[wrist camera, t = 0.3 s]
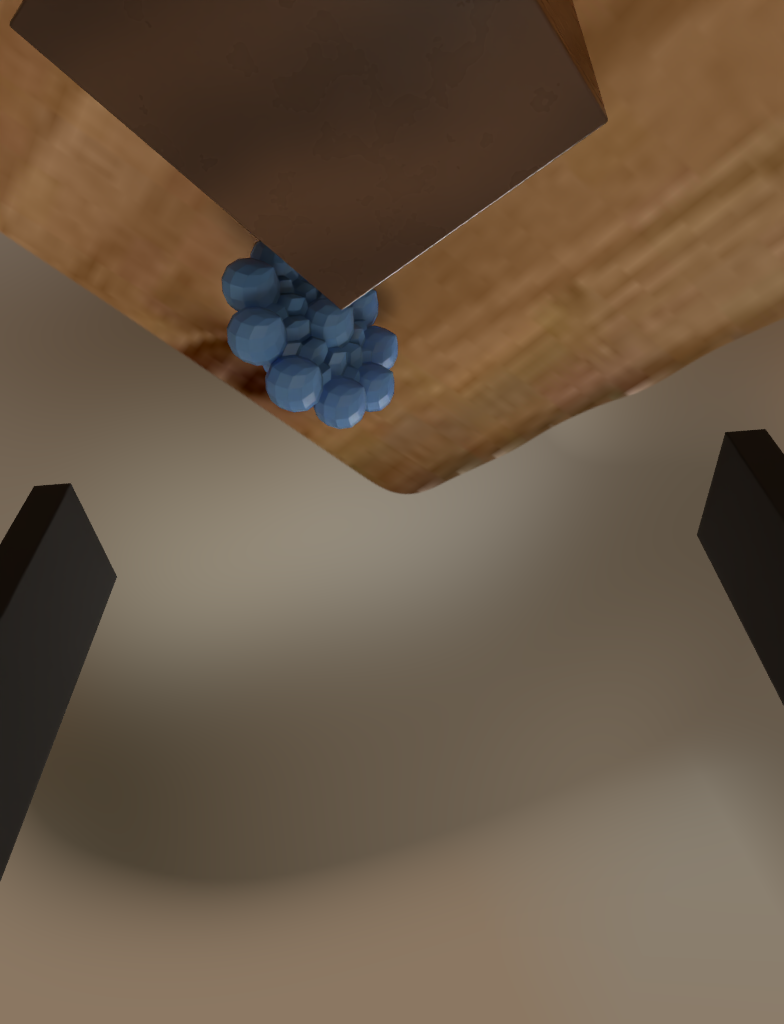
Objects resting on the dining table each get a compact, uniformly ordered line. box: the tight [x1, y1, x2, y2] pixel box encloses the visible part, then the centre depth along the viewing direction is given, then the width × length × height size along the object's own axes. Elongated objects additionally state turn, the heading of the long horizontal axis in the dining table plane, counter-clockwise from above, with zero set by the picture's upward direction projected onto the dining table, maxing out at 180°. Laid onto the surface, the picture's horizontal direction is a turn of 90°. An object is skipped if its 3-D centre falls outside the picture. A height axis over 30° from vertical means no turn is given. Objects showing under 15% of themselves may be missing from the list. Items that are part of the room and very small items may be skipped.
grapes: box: [222, 241, 398, 429], centre depth 38 cm, size 12×7×12 cm, turn 43°
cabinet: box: [10, 0, 608, 310], centre depth 25 cm, size 15×13×10 cm
